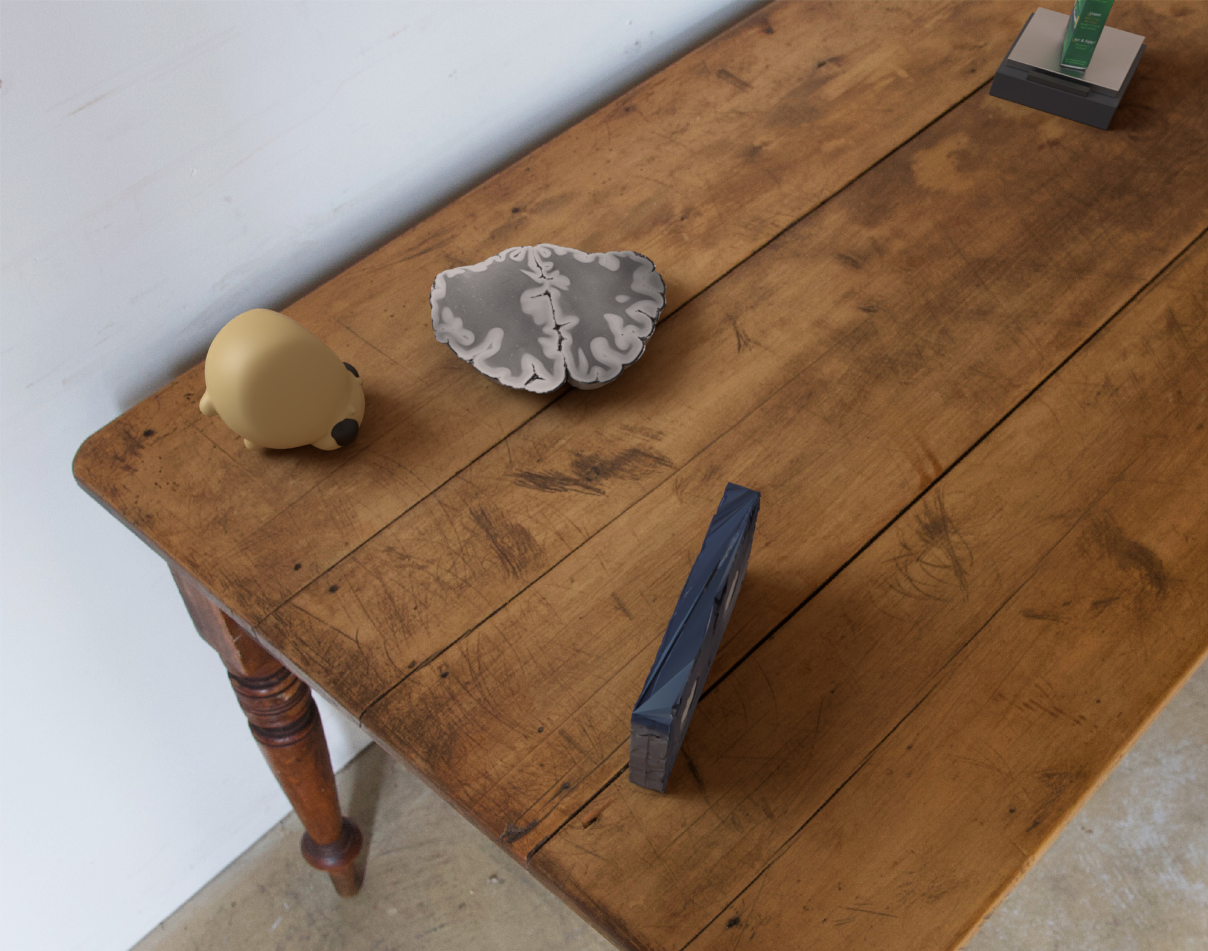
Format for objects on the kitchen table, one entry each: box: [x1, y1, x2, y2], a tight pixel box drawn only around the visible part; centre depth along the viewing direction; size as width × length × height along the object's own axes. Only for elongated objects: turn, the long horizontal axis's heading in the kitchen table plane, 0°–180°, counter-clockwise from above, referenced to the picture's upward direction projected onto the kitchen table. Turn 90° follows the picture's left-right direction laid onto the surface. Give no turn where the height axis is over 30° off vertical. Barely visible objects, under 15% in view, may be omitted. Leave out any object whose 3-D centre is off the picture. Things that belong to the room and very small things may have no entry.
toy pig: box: [199, 307, 366, 452], centre depth 84 cm, size 10×12×11 cm
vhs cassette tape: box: [628, 482, 762, 794], centre depth 72 cm, size 18×3×10 cm, turn 157°
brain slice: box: [428, 242, 668, 395], centre depth 92 cm, size 20×17×3 cm
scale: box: [988, 6, 1148, 131], centre depth 112 cm, size 12×12×3 cm
